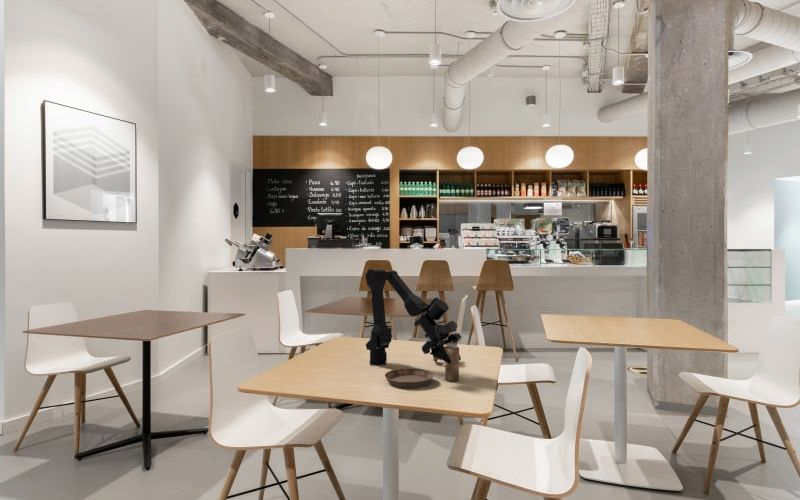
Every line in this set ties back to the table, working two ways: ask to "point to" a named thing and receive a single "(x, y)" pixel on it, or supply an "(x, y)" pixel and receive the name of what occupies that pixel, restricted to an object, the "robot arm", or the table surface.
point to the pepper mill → (452, 363)
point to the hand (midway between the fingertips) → (455, 361)
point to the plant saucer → (409, 377)
